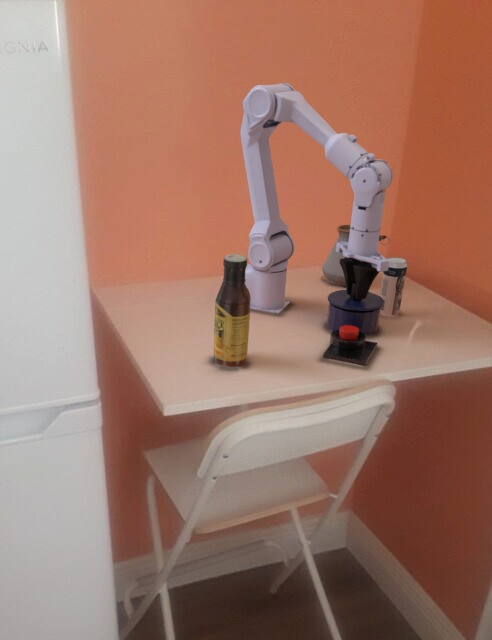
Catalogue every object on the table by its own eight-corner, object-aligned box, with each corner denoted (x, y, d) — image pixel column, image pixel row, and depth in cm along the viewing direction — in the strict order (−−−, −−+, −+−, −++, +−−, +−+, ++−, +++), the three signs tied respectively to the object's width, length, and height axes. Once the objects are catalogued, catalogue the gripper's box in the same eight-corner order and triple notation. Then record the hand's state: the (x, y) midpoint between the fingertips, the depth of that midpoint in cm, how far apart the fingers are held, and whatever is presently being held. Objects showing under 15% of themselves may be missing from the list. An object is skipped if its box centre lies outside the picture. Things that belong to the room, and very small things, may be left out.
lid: (320, 308, 140) (323, 286, 138) (335, 291, 149) (338, 270, 146) (376, 317, 136) (379, 295, 134) (388, 300, 145) (391, 278, 143)
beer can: (399, 319, 151) (408, 264, 145) (376, 316, 151) (385, 262, 145) (398, 311, 155) (407, 257, 149) (376, 309, 155) (384, 255, 149)
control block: (364, 368, 129) (367, 353, 127) (320, 359, 131) (321, 345, 130) (377, 348, 137) (379, 334, 135) (334, 340, 140) (336, 326, 138)
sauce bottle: (211, 355, 132) (214, 250, 122) (244, 355, 132) (250, 250, 122) (214, 370, 126) (218, 262, 116) (249, 370, 127) (255, 262, 117)
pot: (320, 332, 143) (323, 307, 140) (334, 316, 151) (337, 292, 148) (370, 341, 139) (374, 316, 137) (381, 324, 148) (385, 300, 145)
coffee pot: (312, 275, 175) (319, 214, 167) (353, 272, 178) (361, 211, 170) (354, 304, 158) (363, 238, 150) (398, 300, 161) (409, 234, 153)
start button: (355, 342, 133) (356, 333, 132) (336, 338, 134) (337, 330, 133) (359, 335, 135) (361, 327, 135) (341, 332, 137) (342, 323, 136)
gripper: (326, 221, 139) (319, 287, 146) (371, 240, 128) (361, 310, 135) (355, 218, 142) (347, 283, 148) (402, 236, 130) (390, 305, 137)
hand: (356, 296), depth 142 cm, fingers closed on lid, 2 cm apart
